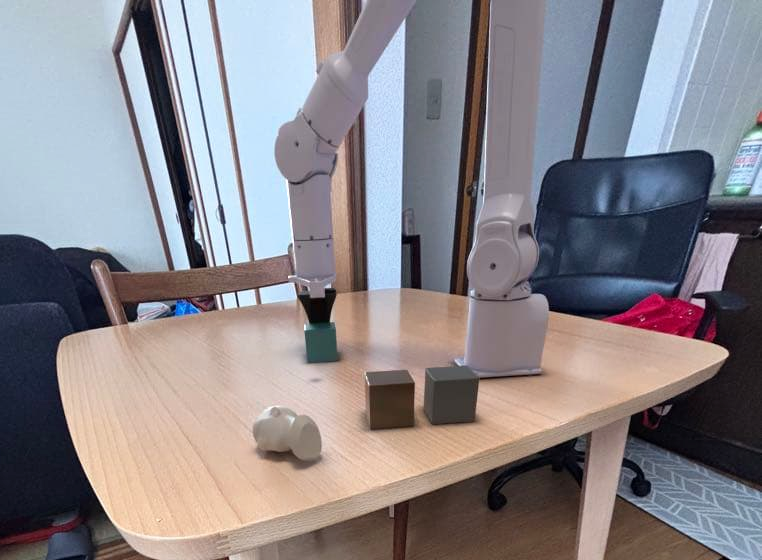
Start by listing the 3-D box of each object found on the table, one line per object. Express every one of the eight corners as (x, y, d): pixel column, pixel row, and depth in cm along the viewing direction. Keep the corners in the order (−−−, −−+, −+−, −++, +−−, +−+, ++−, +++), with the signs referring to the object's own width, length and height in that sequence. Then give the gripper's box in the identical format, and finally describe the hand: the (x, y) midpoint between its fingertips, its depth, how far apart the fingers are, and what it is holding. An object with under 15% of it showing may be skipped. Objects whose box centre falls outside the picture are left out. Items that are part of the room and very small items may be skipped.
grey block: (463, 406, 52) (467, 365, 49) (474, 421, 48) (479, 377, 46) (423, 409, 52) (425, 367, 49) (431, 424, 48) (434, 380, 45)
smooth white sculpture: (254, 454, 47) (295, 427, 48) (290, 483, 41) (335, 452, 42) (233, 417, 44) (277, 389, 45) (269, 443, 38) (318, 411, 39)
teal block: (336, 353, 73) (334, 321, 70) (337, 360, 69) (335, 328, 66) (307, 354, 72) (304, 323, 70) (307, 362, 69) (304, 330, 66)
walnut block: (406, 410, 52) (407, 369, 49) (413, 426, 48) (415, 382, 45) (365, 413, 51) (364, 372, 49) (370, 429, 48) (369, 385, 45)
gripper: (286, 237, 71) (296, 333, 79) (281, 244, 59) (294, 355, 67) (332, 235, 71) (338, 330, 79) (337, 241, 59) (343, 352, 67)
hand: (321, 342), depth 73 cm, fingers closed
